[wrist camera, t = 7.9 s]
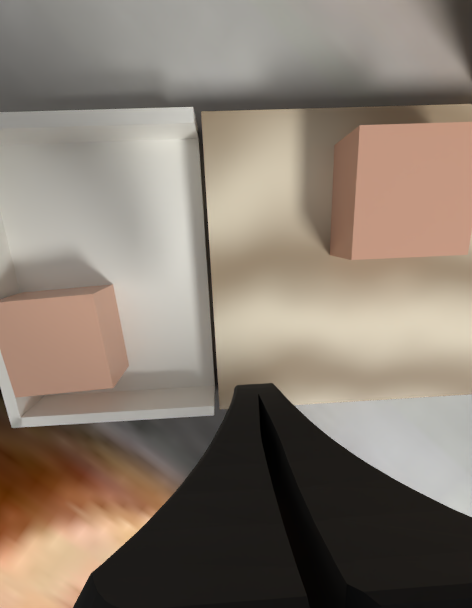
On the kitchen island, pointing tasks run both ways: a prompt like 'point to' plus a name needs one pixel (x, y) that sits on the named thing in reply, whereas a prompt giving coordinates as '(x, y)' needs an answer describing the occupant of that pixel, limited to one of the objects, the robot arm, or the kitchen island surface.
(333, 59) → the kitchen island surface
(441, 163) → the tile near
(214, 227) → the board
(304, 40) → the kitchen island surface
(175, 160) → the tray
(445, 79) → the kitchen island surface
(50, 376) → the tile far
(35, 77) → the kitchen island surface
